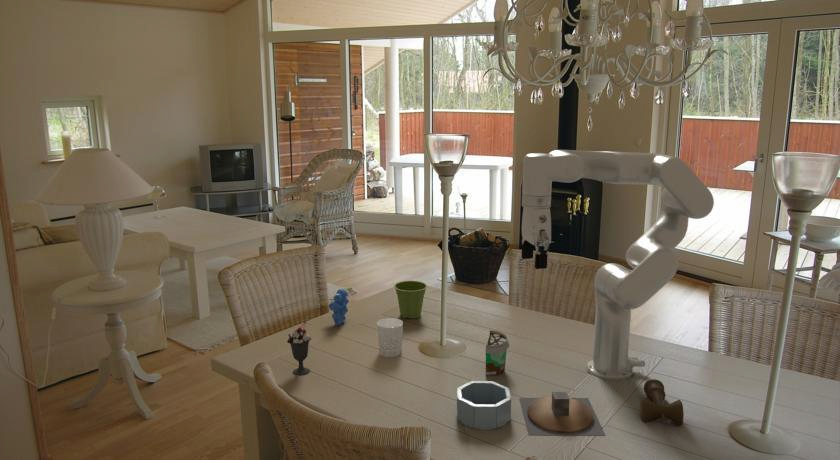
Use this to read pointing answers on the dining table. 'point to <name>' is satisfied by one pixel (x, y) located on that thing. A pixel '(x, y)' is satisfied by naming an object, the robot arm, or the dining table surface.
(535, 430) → the mat
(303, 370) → the sundae
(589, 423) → the lid
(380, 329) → the white cup
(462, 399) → the bowl
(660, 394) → the kendama
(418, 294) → the plant pot
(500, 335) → the food container
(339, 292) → the grapes
